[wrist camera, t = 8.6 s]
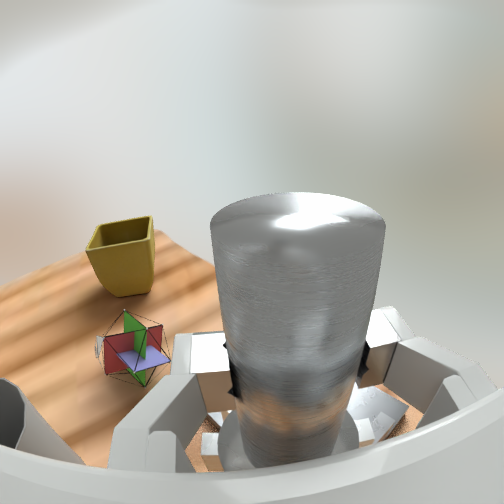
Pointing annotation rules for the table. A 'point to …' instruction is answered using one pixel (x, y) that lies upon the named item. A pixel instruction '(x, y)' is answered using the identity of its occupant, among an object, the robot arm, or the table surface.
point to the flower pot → (124, 255)
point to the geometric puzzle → (132, 349)
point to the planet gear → (293, 325)
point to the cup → (29, 427)
